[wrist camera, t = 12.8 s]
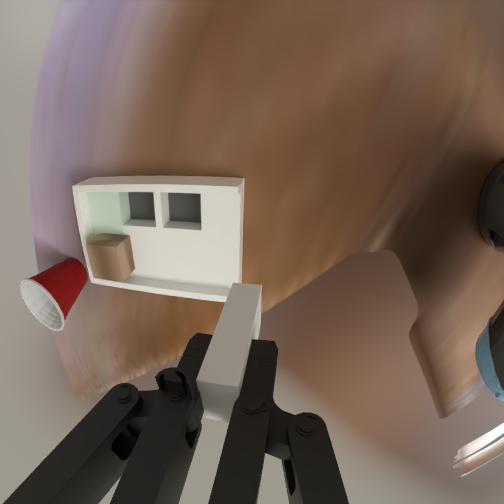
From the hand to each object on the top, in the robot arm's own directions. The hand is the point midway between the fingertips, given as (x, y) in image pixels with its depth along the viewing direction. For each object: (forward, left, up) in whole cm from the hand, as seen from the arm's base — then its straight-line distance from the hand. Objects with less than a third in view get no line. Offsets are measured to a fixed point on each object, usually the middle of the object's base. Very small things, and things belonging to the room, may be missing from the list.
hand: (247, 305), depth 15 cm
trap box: (+16, +6, -24) cm, 29 cm away
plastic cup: (+36, +16, -24) cm, 46 cm away
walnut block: (+22, +9, -21) cm, 32 cm away
